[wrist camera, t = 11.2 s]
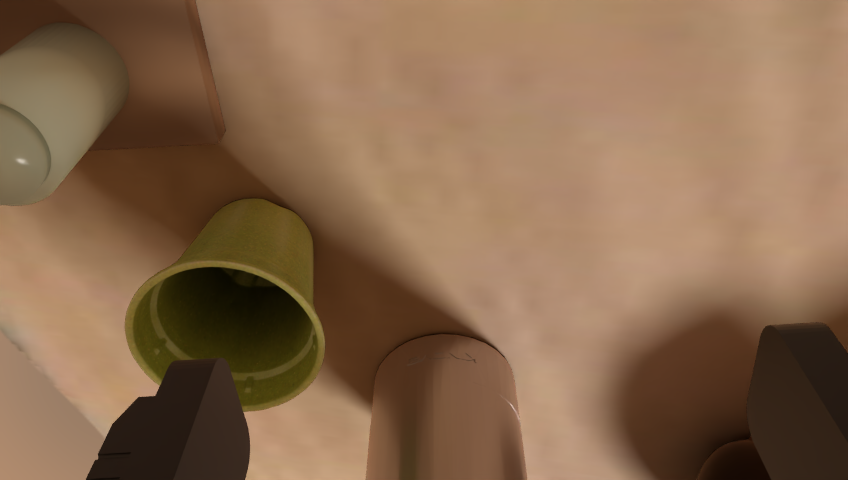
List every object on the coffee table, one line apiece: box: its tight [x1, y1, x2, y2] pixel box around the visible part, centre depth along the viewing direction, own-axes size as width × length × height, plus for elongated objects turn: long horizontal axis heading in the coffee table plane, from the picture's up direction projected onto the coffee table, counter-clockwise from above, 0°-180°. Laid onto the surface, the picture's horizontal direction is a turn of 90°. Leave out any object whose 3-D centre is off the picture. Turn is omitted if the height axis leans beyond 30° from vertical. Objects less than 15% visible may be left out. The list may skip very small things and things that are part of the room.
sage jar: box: [0, 23, 129, 206], centre depth 31 cm, size 5×5×9 cm
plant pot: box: [125, 198, 325, 412], centre depth 38 cm, size 9×9×9 cm
